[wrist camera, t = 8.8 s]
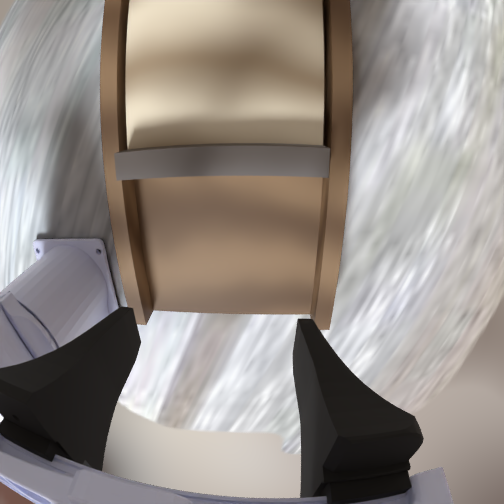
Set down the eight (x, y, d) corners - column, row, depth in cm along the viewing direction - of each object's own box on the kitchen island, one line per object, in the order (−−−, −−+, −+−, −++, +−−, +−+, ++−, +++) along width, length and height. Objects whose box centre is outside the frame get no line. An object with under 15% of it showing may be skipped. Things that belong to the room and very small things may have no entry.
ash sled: (317, 167, 19) (328, 177, 16) (138, 169, 19) (116, 180, 16) (317, -4, 14) (327, -24, 11) (137, 6, 14) (117, -10, 11)
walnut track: (322, 306, 24) (331, 338, 21) (143, 302, 25) (127, 331, 21) (333, -44, 13) (346, -69, 9) (128, -33, 13) (106, -52, 9)
